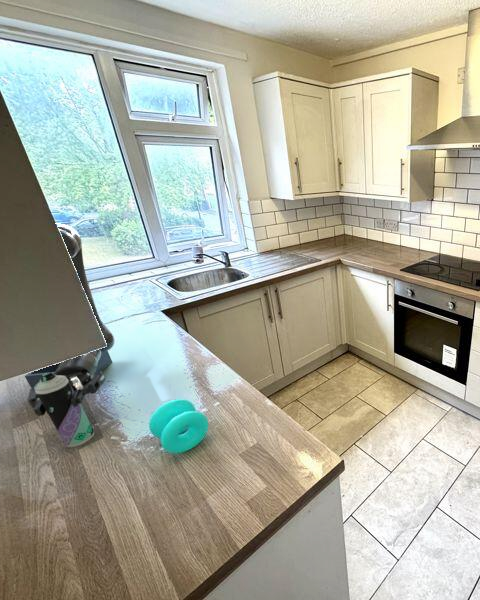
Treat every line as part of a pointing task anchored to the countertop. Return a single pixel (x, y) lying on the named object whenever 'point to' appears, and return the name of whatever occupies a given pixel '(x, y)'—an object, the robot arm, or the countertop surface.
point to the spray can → (64, 409)
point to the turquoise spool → (178, 425)
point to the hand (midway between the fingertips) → (57, 407)
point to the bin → (36, 375)
